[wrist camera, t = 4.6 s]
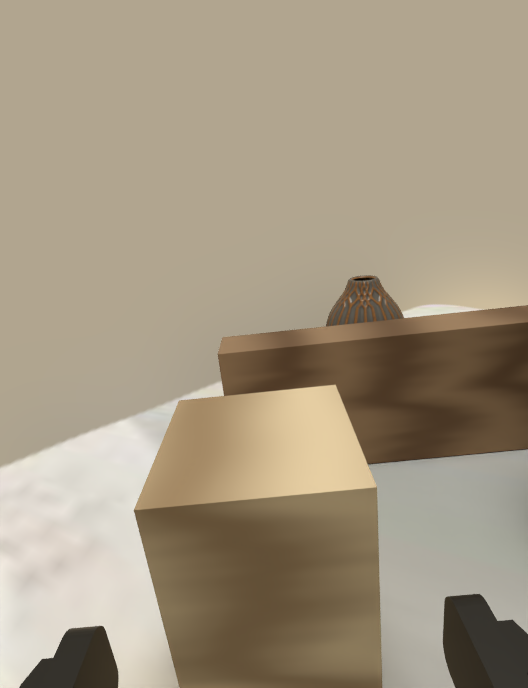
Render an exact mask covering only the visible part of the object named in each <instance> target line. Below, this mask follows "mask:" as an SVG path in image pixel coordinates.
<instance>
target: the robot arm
mask: <svg viewBox="0 0 528 688" xmlns="http://www.w3.org/2000/svg"><path fill="white" fill-rule="evenodd" d="M443 648H444V654H445V659H446V662H447V666H448V669H449V672H450V675H451V678H452V680H453V683H454V685H455V688H528V634H527V633H526V632H525V631H524V630H523V629H522V628H521V627H520V626H518V625H517V624H516V623H515V622H514V621H513V620H505V621H497V620H496V618H495V616H494V614H493V613H492V611H491V609H490V607H489V605H488V604H487V602H486V600H485V599H484V598H483V597H482V596H481V595H480V594H472V595H460V596H449V597H446V598H445V606H444V629H443ZM20 688H118V669H117V665H116V662H115V659H114V656H113V653H112V650H111V646H110V643H109V640H108V637H107V634H106V631H105V629H104V627H103V626H94V627H83V628H71V629H69V630H68V631H67V632H66V633H65V634H64V636H63V638H62V640H61V642H60V644H59V647H58V649H57V651H56V653H55V655H54V658H49V659H42V660H41V661H40V662H39V663H38V665H37V666H36V667H35V668H34V669H33V671H32V672H31V673H30V674H29V676H28V677H27V678H26V679H25V680H24V682H23V683H22V684H21V685H20Z"/></svg>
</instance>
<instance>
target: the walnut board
mask: <svg viewBox="0 0 528 688" xmlns="http://www.w3.org/2000/svg"><path fill="white" fill-rule="evenodd" d="M218 359H219V365H220V372H221V378H222V385H223V391H224V396H230V395H240V394H249V393H259V392H269V391H279V390H288V389H298V388H308V387H318V386H328V385H336V387H337V390H338V392H339V395H340V397H341V399H342V402H343V404H344V407H345V409H346V412H347V414H348V417H349V419H350V422H351V424H352V427H353V429H354V432H355V434H356V437H357V439H358V442H359V444H360V447H361V449H362V452H363V454H364V457H365V459H366V462H367V464H372V463H382V462H393V461H403V460H414V459H424V458H435V457H445V456H456V455H466V454H477V453H487V452H498V451H508V450H519V449H528V305H527V306H517V307H508V308H498V309H488V310H479V311H469V312H460V313H450V314H441V315H431V316H422V317H412V318H403V319H393V320H384V321H374V322H365V323H355V324H346V325H336V326H327V327H318V328H308V329H299V330H290V331H280V332H270V333H260V334H251V335H241V336H232V337H223V338H222V341H221V345H220V349H219V352H218Z"/></svg>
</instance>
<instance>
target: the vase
mask: <svg viewBox="0 0 528 688" xmlns="http://www.w3.org/2000/svg"><path fill="white" fill-rule="evenodd" d="M403 318H404V317H403V314H402V312H401V310H400V308H399V307H398V305H397V304H396V303H395V302H394V300H393V299H392V298H391V297H390V296H389V294H388V293H387V292H386V291H385V290H384V288H383V287H382V285H381V283H380V281H379V279H378V278H377V277H376V276H357V277H353V278H350V279H349V280H348V283H347V286H346V288H345V291H344V292H343V294H342V295H341V296H340V298H339V300H338V301H337V302H336V304H335V305H334V306H333V308H332V310H331V312H330V314H329V316H328V320H327V324H326V327H327V326H336V325H346V324H355V323H365V322H374V321H384V320H393V319H403Z"/></svg>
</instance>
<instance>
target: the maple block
mask: <svg viewBox="0 0 528 688" xmlns="http://www.w3.org/2000/svg"><path fill="white" fill-rule="evenodd" d="M134 512H135V516H136V520H137V524H138V528H139V532H140V536H141V540H142V543H143V547H144V551H145V555H146V559H147V563H148V567H149V571H150V574H151V578H152V582H153V586H154V590H155V594H156V598H157V602H158V605H159V609H160V613H161V617H162V621H163V625H164V629H165V633H166V636H167V640H168V644H169V648H170V652H171V656H172V660H173V664H174V667H175V671H176V675H177V679H178V683H179V687H180V688H382V660H381V623H380V585H379V548H378V511H377V486H376V484H375V481H374V479H373V476H372V474H371V471H370V469H369V466H368V464H367V462H366V459H365V457H364V454H363V452H362V449H361V447H360V444H359V442H358V439H357V437H356V434H355V432H354V429H353V427H352V424H351V422H350V419H349V417H348V414H347V412H346V409H345V407H344V404H343V402H342V399H341V397H340V395H339V392H338V390H337V387H336V385H328V386H318V387H308V388H298V389H288V390H279V391H269V392H259V393H249V394H240V395H230V396H220V397H210V398H201V399H191V400H181V401H179V402H178V405H177V407H176V410H175V412H174V414H173V417H172V419H171V422H170V424H169V426H168V429H167V431H166V434H165V436H164V439H163V441H162V443H161V446H160V448H159V451H158V453H157V456H156V458H155V460H154V463H153V465H152V468H151V470H150V473H149V475H148V477H147V480H146V482H145V485H144V487H143V489H142V492H141V494H140V497H139V499H138V502H137V504H136V506H135V509H134Z"/></svg>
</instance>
